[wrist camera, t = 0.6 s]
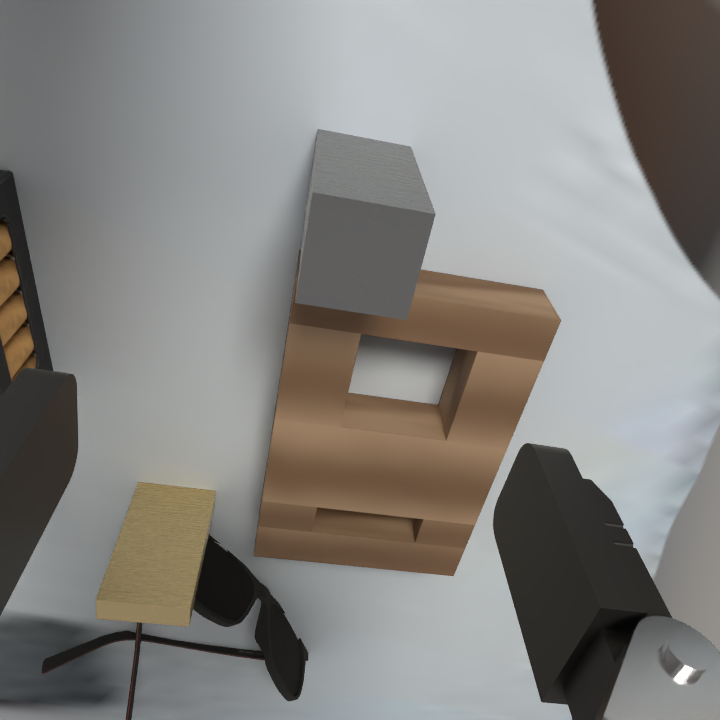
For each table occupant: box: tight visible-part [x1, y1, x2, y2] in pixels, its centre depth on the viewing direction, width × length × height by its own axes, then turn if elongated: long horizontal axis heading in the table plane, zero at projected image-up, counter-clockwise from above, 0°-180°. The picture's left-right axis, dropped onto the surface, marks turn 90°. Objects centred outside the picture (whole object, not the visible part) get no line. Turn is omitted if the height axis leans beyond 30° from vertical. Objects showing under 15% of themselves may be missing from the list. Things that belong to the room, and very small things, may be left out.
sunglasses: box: [41, 535, 308, 720], centre depth 43 cm, size 17×14×5 cm
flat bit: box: [96, 482, 216, 627], centre depth 35 cm, size 2×4×8 cm, turn 79°
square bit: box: [295, 129, 435, 320], centre depth 25 cm, size 4×4×8 cm
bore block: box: [254, 250, 561, 576], centre depth 34 cm, size 18×12×3 cm, turn 169°
